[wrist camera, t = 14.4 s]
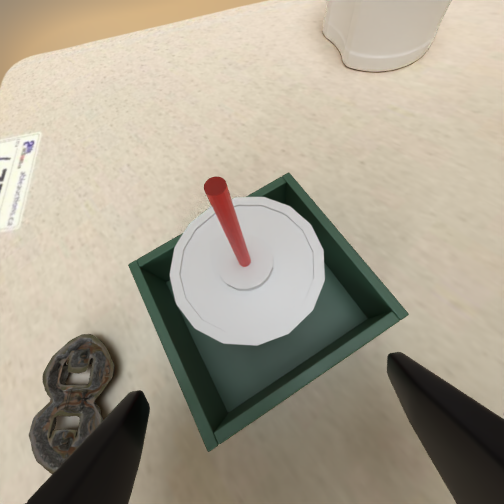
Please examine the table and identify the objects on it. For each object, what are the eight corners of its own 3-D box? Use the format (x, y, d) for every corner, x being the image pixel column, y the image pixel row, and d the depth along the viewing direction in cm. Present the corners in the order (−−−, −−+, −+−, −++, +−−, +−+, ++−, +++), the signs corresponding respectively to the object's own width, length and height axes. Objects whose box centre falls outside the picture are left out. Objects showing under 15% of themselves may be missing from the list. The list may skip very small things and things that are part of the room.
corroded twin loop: (31, 465, 16) (15, 472, 15) (63, 335, 19) (52, 334, 18) (104, 468, 16) (93, 476, 15) (126, 334, 19) (118, 333, 18)
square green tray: (226, 425, 16) (207, 452, 12) (159, 281, 20) (127, 264, 16) (378, 322, 17) (409, 314, 13) (286, 206, 21) (289, 171, 17)
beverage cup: (245, 364, 17) (128, 426, 4) (205, 288, 19) (42, 157, 6) (321, 316, 17) (448, 224, 4) (274, 247, 20) (264, 47, 7)
